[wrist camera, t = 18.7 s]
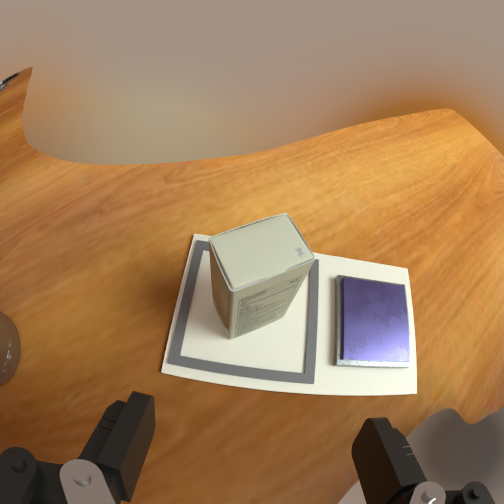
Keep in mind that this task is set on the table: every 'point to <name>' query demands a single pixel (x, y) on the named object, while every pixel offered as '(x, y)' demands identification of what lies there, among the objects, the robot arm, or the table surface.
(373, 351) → the ink pad
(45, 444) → the table surface
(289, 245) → the skincare box
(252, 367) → the marked board
